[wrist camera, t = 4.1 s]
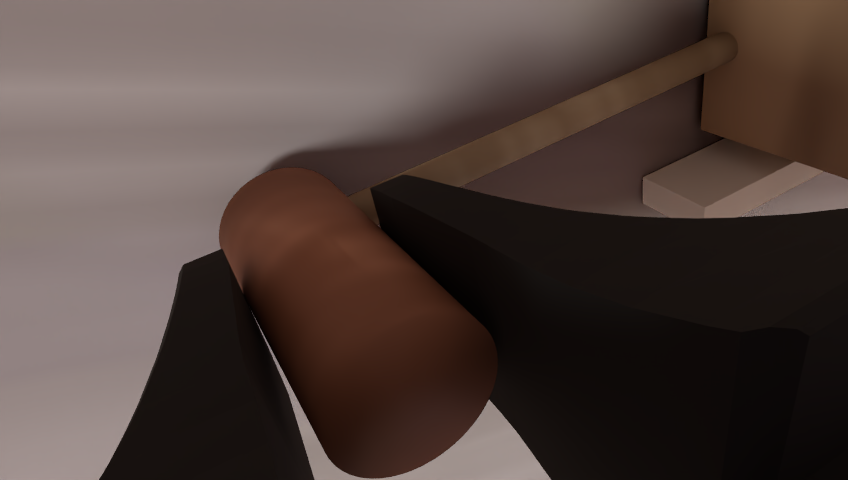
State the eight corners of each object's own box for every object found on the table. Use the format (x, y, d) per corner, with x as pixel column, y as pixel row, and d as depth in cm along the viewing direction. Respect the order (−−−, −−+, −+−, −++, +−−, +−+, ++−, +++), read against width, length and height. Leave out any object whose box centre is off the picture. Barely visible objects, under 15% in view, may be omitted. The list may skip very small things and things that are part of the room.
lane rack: (1104, -681, 11) (1270, -774, 10) (864, 245, 23) (922, 271, 22) (649, -693, 8) (783, -831, 7) (641, 377, 20) (689, 418, 19)
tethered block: (846, -109, 15) (1134, -116, 11) (816, 71, 17) (1040, 119, 13) (170, 143, 10) (255, 303, 6) (266, 347, 12) (371, 554, 8)
